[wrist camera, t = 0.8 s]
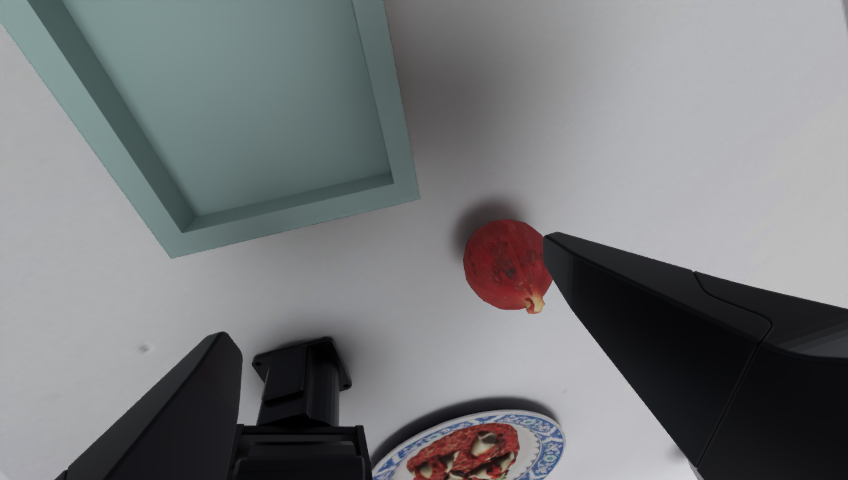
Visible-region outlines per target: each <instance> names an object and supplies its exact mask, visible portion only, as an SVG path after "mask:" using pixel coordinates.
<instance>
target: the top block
mask: <svg viewBox="0 0 848 480" xmlns="http://www.w3.org/2000/svg"><path fill="white" fill-rule="evenodd" d="M0 22H1V24H2V25H3V27H4V28H5V29H6V31H7V32H8V34H9V35H10V36H11V38H12V39H13V40H14V42H15V43H16V45H17V46H18V47H19V49H20V50H21V52H22V53H23V54H24V56H25V57H26V58H27V60H28V61H29V63H30V64H31V65H32V67H33V68H34V70H35V71H36V72H37V74H38V75H39V77H40V78H41V79H42V81H43V82H44V83H45V85H46V86H47V88H48V89H49V90H50V92H51V93H52V95H53V96H54V97H55V99H56V100H57V101H58V103H59V104H60V106H61V107H62V108H63V110H64V111H65V113H66V114H67V115H68V117H69V118H70V120H71V121H72V122H73V124H74V125H75V126H76V128H77V129H78V131H79V132H80V133H81V135H82V136H83V138H84V139H85V140H86V142H87V143H88V144H89V146H90V147H91V149H92V150H93V151H94V153H95V154H96V156H97V157H98V158H99V160H100V161H101V163H102V164H103V165H104V167H105V168H106V169H107V171H108V172H109V174H110V175H111V176H112V178H113V179H114V181H115V182H116V183H117V185H118V186H119V187H120V189H121V190H122V192H123V193H124V194H125V196H126V197H127V199H128V200H129V201H130V203H131V204H132V206H133V207H134V208H135V210H136V211H137V212H138V214H139V215H140V217H141V218H142V219H143V221H144V222H145V224H146V225H147V226H148V228H149V229H150V230H151V232H152V233H153V235H154V236H155V237H156V239H157V240H158V242H159V243H160V244H161V246H162V247H163V249H164V250H165V251H166V253H167V254H168V255H169V257H170V258H171V259H172V258H176V257H180V256H184V255H188V254H193V253H197V252H201V251H205V250H209V249H214V248H218V247H222V246H226V245H230V244H234V243H239V242H243V241H247V240H251V239H255V238H259V237H264V236H268V235H272V234H276V233H280V232H284V231H289V230H293V229H297V228H301V227H305V226H309V225H314V224H318V223H322V222H326V221H330V220H334V219H339V218H343V217H347V216H351V215H355V214H359V213H364V212H368V211H372V210H376V209H380V208H384V207H389V206H393V205H397V204H401V203H405V202H410V201H414V200H418V199H420V194H419V189H418V183H417V178H416V173H415V167H414V162H413V157H412V151H411V146H410V141H409V135H408V130H407V125H406V119H405V114H404V109H403V103H402V98H401V93H400V87H399V82H398V77H397V71H396V66H395V61H394V55H393V50H392V45H391V39H390V34H389V29H388V23H387V18H386V13H385V7H384V2H383V0H0Z"/></svg>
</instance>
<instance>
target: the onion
mask: <svg viewBox="0 0 848 480" xmlns="http://www.w3.org/2000/svg"><path fill="white" fill-rule="evenodd" d="M463 263H464V270H465V275H466V280H467V282H468V284H469V285H470V287H471V288H472V289H473V290H474V292H475V293H476V294H477V295H478V296H479V297H480V298H481V299H482V300H483V301H485V302H487V303H489V304H491V305H493V306H495V307H497V308H499V309H504V310H519V309H523V308H526V310H527V312H528V313H530V314H535V313H540V312H541V310H542V307H543V306H544V305H545V303H544V301H543V296H544V295H545V293H546V292H547V290H548V288H549V287H550V285H551V283H552V280H553V279H552V277H551V275H550V274H549V272H548V270H547V269H546V267H545V265H544V262H543V236H542V235H541V234H540V233H539V232H537V231H536V230H535V229H534V228H532V227H531V226H529V225H528V224H526V223H524V222H520V221H515V220H510V219H502V220H496V221H490V222H488V223H487V224H485V225H483V226H482V227H480V228H478V229H477V230H476V231H475V233H474V234H473V235H472V237H471V238H470V240H469V241H468V243H467V245H466V249H465V253H464V258H463Z"/></svg>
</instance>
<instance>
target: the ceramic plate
mask: <svg viewBox="0 0 848 480" xmlns="http://www.w3.org/2000/svg"><path fill="white" fill-rule="evenodd" d="M565 443H566V440H565V435H564V432H563V430H562V428H561V427H560V426H559V425H558V423H556V422H555V421H554V420H553V419H551V418H549V417H548V416H545V415H543V414H540V413H536V412H532V411H526V410H495V411H487V412H480V413H475V414H470V415H466V416H462V417H459V418H456V419H452V420H449V421H446V422H443V423H441V424H439V425H436V426H434V427H432V428H429V429H427V430H424V431H422V432H420V433H419V434H417V435H415V436H413V437H411V438H410V439H408V440H406V441H405V442H403V443H401V444H400V445H399V446H397V447H396V448H394V449H393V450H392V451H391V452H389V453H388V454H387V455H386V456H385V457H384V458H383V459H381V460H380V461H379V462H378V464H377V465H376V466H375V467H374V468H373V470H372V476H373V480H543V479H545V478H546V477H547V476H548V475H549V473H550V472H551V471H552V470H553V469H554V468H555V466H556V465H557V464H558V462H559V461H560V459H561V457H562V455H563V452H564V449H565Z"/></svg>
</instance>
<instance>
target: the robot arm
mask: <svg viewBox="0 0 848 480" xmlns="http://www.w3.org/2000/svg"><path fill="white" fill-rule="evenodd" d="M543 262H544V265H545V267H546V269H547V270H548V272H549V274H550V275H551V277H552V279H553V280H554V282H555V284H556V285H557V287H558V288H559V290H560V292H561V293H562V295H563V297H564V298H565V300H566V302H567V303H568V305H569V306H570V308H571V309H572V311H573V312H574V313H575V315H576V316H577V317H578V319H579V320H580V321H581V322H582V324H583V325H584V326H585V328H586V329H587V330H588V331H589V333H590V334H591V335H592V337H593V338H594V339H595V340H596V342H597V343H598V344H599V345H600V347H601V348H602V349H603V351H604V352H605V353H606V354H607V356H608V357H609V358H610V360H611V361H612V362H613V363H614V365H615V366H616V367H617V369H618V370H619V371H620V372H621V374H622V375H623V376H624V378H625V379H626V380H627V381H628V383H629V384H630V385H631V387H632V388H633V389H634V390H635V392H636V393H637V394H638V396H639V397H640V398H641V399H642V401H643V402H644V403H645V405H646V406H647V407H648V408H649V410H650V411H651V412H652V413H653V415H654V416H655V417H656V419H657V420H658V421H659V422H660V424H661V425H662V426H663V428H664V429H665V430H666V431H667V433H668V434H669V435H670V437H671V438H672V439H673V440H674V442H675V443H676V444H677V446H678V447H679V448H680V449H681V451H682V452H683V453H684V455H685V456H686V457H687V458H688V460H689V461H690V462H691V464H692V465H693V466H694V467H695V468H697V469H696V470H697V472H698V473H699V474H700V475H701V477H702V478H703V479H704V480H848V309H846V308H842V307H837V306H833V305H829V304H824V303H820V302H816V301H811V300H807V299H803V298H798V297H794V296H790V295H785V294H781V293H777V292H773V291H768V290H764V289H760V288H756V287H752V286H748V285H744V284H740V283H736V282H732V281H729V280H725V279H721V278H718V277H714V276H711V275H707V274H704V273H700V272H697V271H694V272H693V271H692V270H690V269H686V268H683V267H679V266H676V265H672V264H669V263H665V262H662V261H658V260H655V259H651V258H648V257H644V256H641V255H637V254H634V253H630V252H627V251H623V250H620V249H616V248H613V247H609V246H606V245H603V244H599V243H596V242H592V241H589V240H585V239H582V238H578V237H575V236H571V235H568V234H564V233H561V232H554V233H551V234H548V235H545V236H544V237H543ZM242 362H243V357H242V353H241V351H240V349H239V348H238V346H237V345H236V344H235V343H234V341H233V340H232V339H231V337H230V336H229V335H228V334H227V333H226V332H218V333H215V334H211V335H208V336H207V337H205V338H204V339H203V340H202V341H201V342H200V343H199V344H198V345H197V346H196V347H195V348H194V349H193V350H192V351H190V352H189V353H188V354H187V355H186V356H185V357H184V358H183V359H182V360H181V361H180V362H179V363H178V364H177V365H176V366H175V367H174V368H172V369H171V370H170V371H169V372H168V373H167V374H166V375H165V376H164V377H163V378H162V379H161V380H160V381H159V382H158V383H157V384H156V385H154V386H153V387H152V388H151V389H150V390H149V391H148V392H147V393H146V394H145V395H144V396H143V397H142V398H141V399H140V400H139V401H138V402H136V403H135V404H134V405H133V406H132V407H131V408H130V409H129V410H128V411H127V412H126V413H125V414H124V415H123V416H122V417H121V418H120V419H118V420H117V421H116V422H115V423H114V424H113V425H112V426H111V427H110V428H109V429H108V430H107V431H106V432H105V433H104V434H103V435H102V436H100V437H99V438H98V439H97V440H96V441H95V442H94V443H93V444H92V445H91V446H90V447H89V448H88V449H87V450H86V451H85V452H84V453H82V454H81V455H80V456H79V457H78V458H77V459H76V460H75V461H74V462H73V463H72V464H71V465H70V466H69V467H68V470H65V471H63V472H62V473H61V474H60V475H59V476H58V477H57V478H56V479H55V480H373V476H372V469H371V464H370V459H369V454H368V448H367V443H366V438H365V433H364V428H363V425H356V426H355V427H342V426H339V392H340V391H343V390H347V389H349V388H351V386H352V381H351V378H350V376H349V374H348V372H347V369H346V367H345V365H344V363H343V361H342V358H341V356H340V354H339V352H338V350H337V347H336V345H335V343H334V341H333V339H331V338H323V339H319V340H316V341H312V342H308V343H304V344H301V345H297V346H293V347H289V348H285V349H282V350H278V351H274V352H270V353H267V354H263V355H259V356H256V357H254V358H253V362H252V366H253V367H254V369H255V370H256V372H257V373H258V375H259V376H260V378H261V379H262V380H263V382H264V383H265V385H264V389H263V394H262V402H261V406H260V410H259V415H258V419H257V423H256V426H246V425H244V424H237V419H238V412H239V403H240V389H241V376H242Z"/></svg>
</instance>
